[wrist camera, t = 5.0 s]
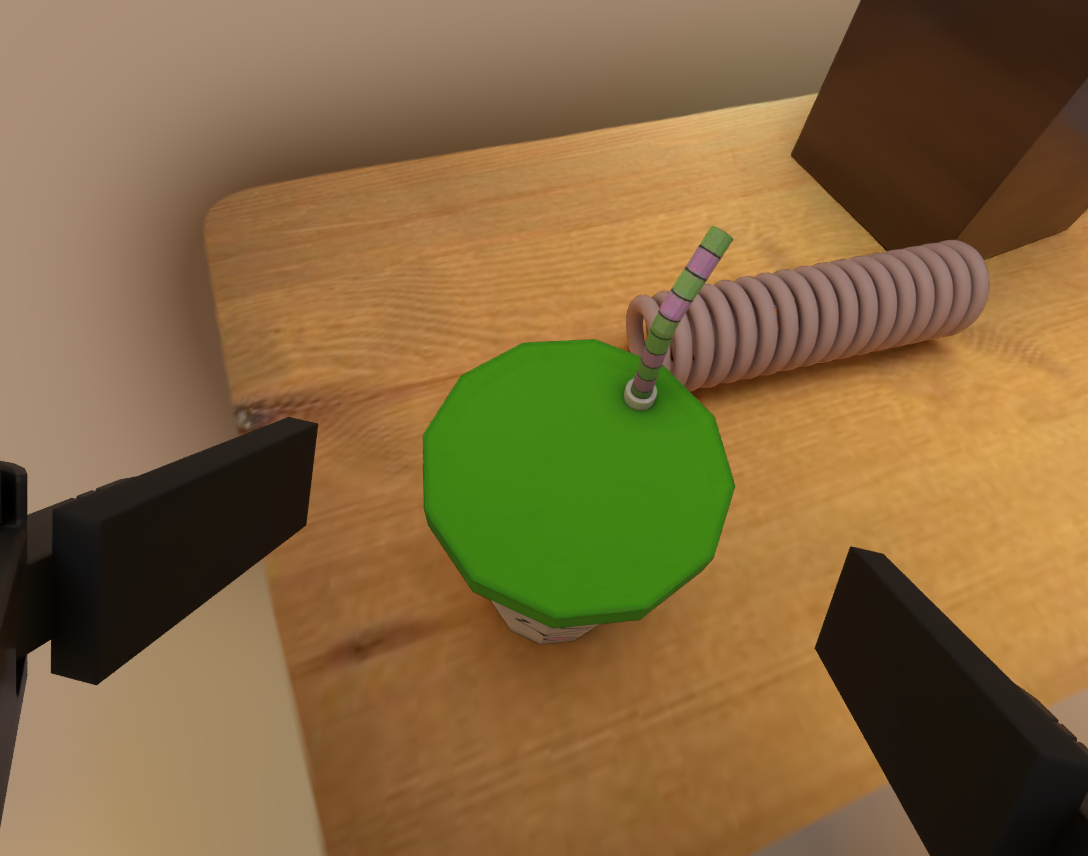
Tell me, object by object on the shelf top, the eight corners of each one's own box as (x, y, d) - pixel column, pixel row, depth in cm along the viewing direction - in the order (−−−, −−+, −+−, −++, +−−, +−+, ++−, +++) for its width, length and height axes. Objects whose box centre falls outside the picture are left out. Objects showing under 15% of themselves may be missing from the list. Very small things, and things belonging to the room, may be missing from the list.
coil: (657, 369, 24) (1025, 293, 28) (619, 276, 26) (969, 216, 30) (631, 420, 29) (954, 349, 32) (600, 337, 30) (908, 279, 34)
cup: (479, 724, 21) (450, 610, 9) (427, 522, 25) (352, 232, 12) (681, 652, 23) (910, 465, 10) (605, 473, 27) (702, 171, 14)
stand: (919, 283, 34) (1341, -236, 17) (790, 154, 39) (1012, -338, 22) (1067, 230, 37) (1547, -252, 20) (928, 118, 43) (1215, -338, 26)
